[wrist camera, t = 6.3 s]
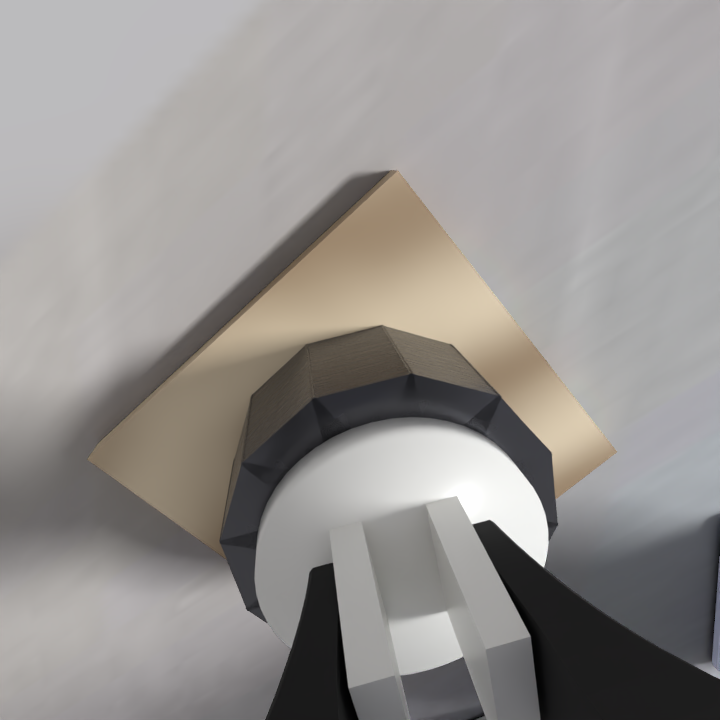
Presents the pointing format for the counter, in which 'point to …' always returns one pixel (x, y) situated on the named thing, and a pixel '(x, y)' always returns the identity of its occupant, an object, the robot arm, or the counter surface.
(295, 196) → the counter surface
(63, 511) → the counter surface
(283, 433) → the ring
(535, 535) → the white round knobbed piece
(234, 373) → the square wooden board
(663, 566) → the counter surface
